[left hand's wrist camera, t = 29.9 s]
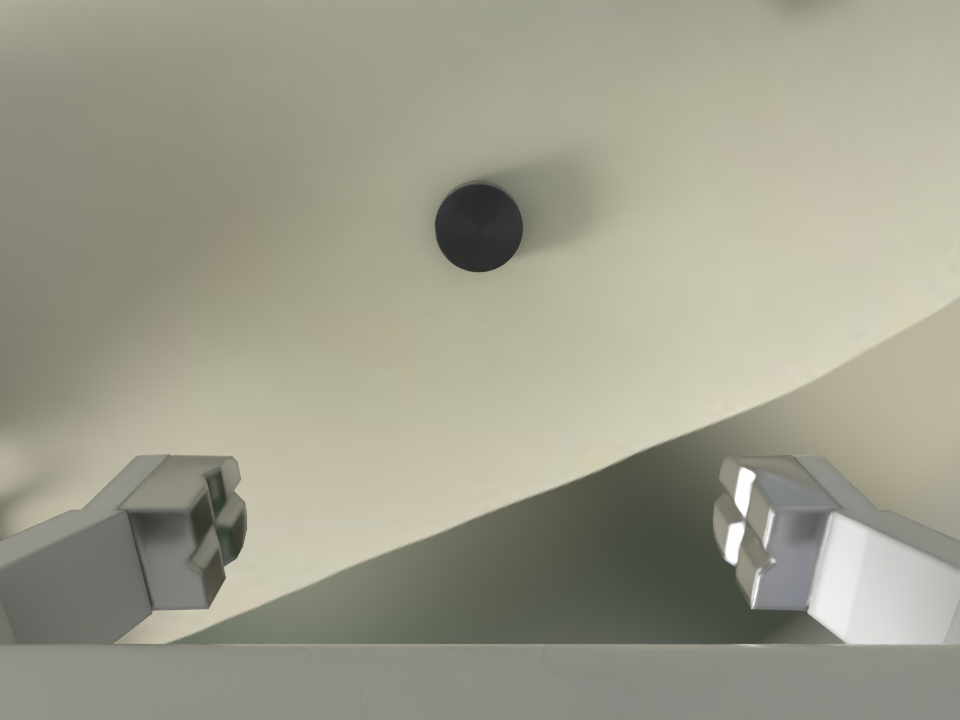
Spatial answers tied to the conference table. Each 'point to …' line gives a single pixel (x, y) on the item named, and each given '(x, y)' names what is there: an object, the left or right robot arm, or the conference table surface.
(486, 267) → the lid
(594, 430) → the conference table surface
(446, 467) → the conference table surface
